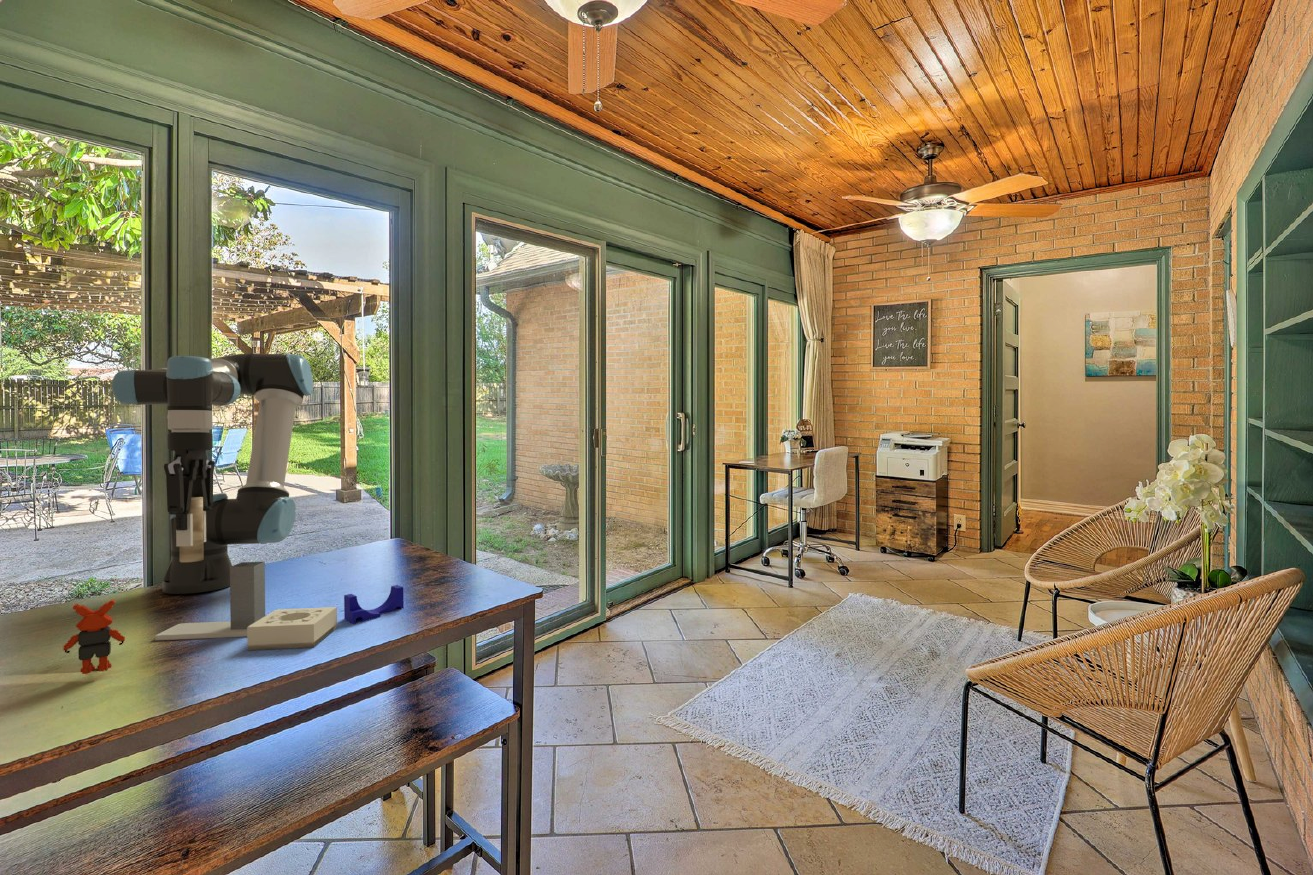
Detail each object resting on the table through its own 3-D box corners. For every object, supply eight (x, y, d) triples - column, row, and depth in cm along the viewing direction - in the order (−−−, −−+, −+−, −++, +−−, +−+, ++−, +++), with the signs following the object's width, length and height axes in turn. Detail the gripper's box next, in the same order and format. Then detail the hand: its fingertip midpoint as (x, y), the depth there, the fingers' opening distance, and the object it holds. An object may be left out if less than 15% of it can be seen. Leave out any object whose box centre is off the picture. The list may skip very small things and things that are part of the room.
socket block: (276, 630, 132) (276, 609, 132) (337, 628, 134) (336, 606, 134) (247, 650, 120) (247, 626, 120) (314, 647, 122) (313, 624, 122)
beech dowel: (187, 558, 132) (186, 497, 132) (207, 558, 133) (207, 496, 133) (175, 562, 128) (174, 499, 128) (196, 562, 129) (195, 498, 129)
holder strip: (179, 628, 134) (179, 623, 134) (280, 623, 137) (280, 619, 137) (155, 640, 126) (155, 635, 126) (262, 635, 129) (262, 630, 129)
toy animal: (127, 659, 116) (126, 594, 116) (124, 668, 111) (123, 600, 111) (68, 668, 111) (67, 601, 111) (62, 678, 107) (61, 608, 107)
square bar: (242, 622, 134) (241, 562, 134) (265, 621, 135) (264, 561, 135) (230, 629, 130) (229, 566, 130) (254, 628, 130) (253, 566, 130)
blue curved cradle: (352, 626, 136) (352, 598, 136) (344, 622, 139) (344, 595, 139) (406, 614, 144) (406, 588, 144) (397, 610, 147) (397, 584, 147)
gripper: (195, 431, 138) (196, 537, 138) (142, 431, 121) (143, 552, 122) (232, 431, 139) (233, 536, 139) (184, 431, 122) (186, 551, 123)
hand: (191, 543), depth 130 cm, fingers closed on beech dowel, 4 cm apart
